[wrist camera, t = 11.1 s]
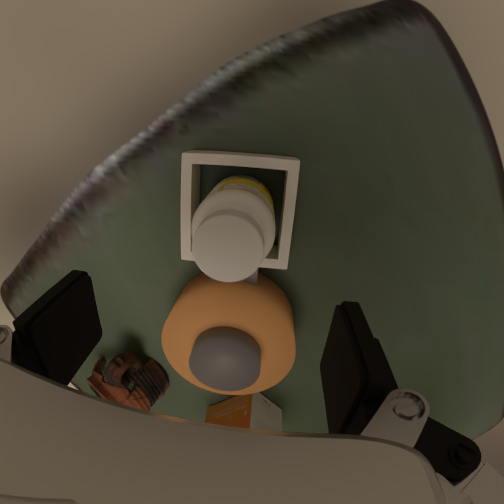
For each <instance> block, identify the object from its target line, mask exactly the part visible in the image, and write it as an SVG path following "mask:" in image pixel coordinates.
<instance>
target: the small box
mask: <svg viewBox="0 0 504 504" xmlns="http://www.w3.org/2000/svg"><path fill="white" fill-rule="evenodd" d="M205 423H210V424H216V425H223V426H231V427H239V428H248V429H259V430H270V431H282V410H281V409H280V408H279V407H277V406H276V405H275V404H274V403H272V402H271V401H270V400H268V399H267V398H266V397H264V396H263V395H262V394H261V393H259V392H257V393H252V394H246V395H236V396H234V397H232V398H230V399H227V400H225V401H222V402H220V403H217V404H215V405H212V406H209V407H208V410H207V415H206V419H205Z"/></svg>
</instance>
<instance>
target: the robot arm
mask: <svg viewBox="0 0 504 504" xmlns="http://www.w3.org/2000/svg"><path fill="white" fill-rule="evenodd" d="M13 325H14V327H15V331H14V332H12V330H11V328H10V327H9V326H7V325H0V504H504V478H503V477H502V476H501V475H500V474H499V473H498V472H496V470H494V469H493V468H492V467H491V466H490V465H489V464H488V463H487V462H486V463H485V464H484V465H483V464H482V463H481V452H480V450H479V447H478V446H477V445H476V443H475V442H474V441H472V440H471V439H469V438H467V437H465V436H463V435H461V434H459V433H458V432H456V431H454V430H452V429H450V428H448V427H446V426H444V425H443V424H441V423H439V422H437V421H435V420H433V419H432V418H430V417H428V416H429V412H430V407H429V403H428V402H427V400H426V398H425V397H424V396H423V395H422V394H420V393H419V392H417V391H415V390H412V389H408V388H400V389H398V386H397V384H396V381H395V378H394V376H393V373H392V371H391V368H390V366H389V364H388V361H387V359H386V356H385V354H384V352H383V349H382V347H381V344H380V342H379V340H378V339H376V338H374V337H373V335H372V332H371V330H370V328H369V325H368V323H367V321H366V318H365V316H364V314H363V311H362V309H361V307H360V305H359V303H358V302H348V301H343V302H342V303H341V305H336V307H335V311H334V315H333V319H332V323H331V327H330V330H329V334H328V338H327V341H326V345H325V349H324V352H323V355H322V359H321V363H320V372H321V378H322V385H323V392H324V399H325V406H326V414H327V421H328V429H329V434H328V433H302V432H283V431H270V430H259V429H248V428H239V427H231V426H223V425H216V424H210V423H203V422H198V421H192V420H187V419H181V418H176V417H172V416H167V415H162V414H158V413H154V412H149V411H145V410H141V409H138V408H134V407H130V406H126V405H123V404H119V403H116V402H113V401H109V400H106V399H103V398H100V397H97V396H94V395H91V394H88V393H85V392H82V391H79V390H76V389H73V388H71V387H68V386H67V385H68V384H69V383H70V381H71V380H72V378H73V377H74V375H75V374H76V373H77V371H78V370H79V368H80V367H81V365H82V364H83V363H84V361H85V360H86V358H87V357H88V356H89V354H90V353H91V352H92V350H93V349H94V347H95V346H96V345H97V343H98V342H99V341H100V339H101V337H102V328H101V324H100V320H99V315H98V311H97V306H96V301H95V296H94V291H93V285H92V280H91V277H90V276H88V273H87V272H85V271H79V270H73V271H71V272H70V273H69V274H67V275H66V276H65V277H64V278H63V279H61V280H60V281H59V282H58V283H56V284H55V285H54V286H53V287H52V288H50V289H49V290H48V291H47V292H46V293H45V294H43V295H42V296H41V297H40V298H39V299H38V300H36V301H35V302H34V303H33V304H32V305H31V306H30V307H28V308H27V309H26V310H25V311H24V312H23V313H22V314H21V315H20V316H19V317H17V318H16V319H15V320H14V321H13Z"/></svg>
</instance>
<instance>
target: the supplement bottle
mask: <svg viewBox="0 0 504 504" xmlns="http://www.w3.org/2000/svg"><path fill="white" fill-rule="evenodd" d="M275 232H276V227H275V216H274V205H273V200H272V196H271V194H270V192H269V190H268V189H267V187H266V186H265V185H264V184H263V183H262V182H261V181H259V180H258V179H256V178H254V177H252V176H248V175H233V176H230V177H227V178H225V179H223V180H222V181H221V182H219V183H218V184H217V185H216V186H215V187H214V188H213V190H212V191H211V192H210V193H209V194H208V196H207V197H206V198H205V199H204V200H203V201H202V203H201V204H200V205H199V207H198V208H197V210H196V212H195V214H194V216H193V219H192V224H191V235H192V254H193V258H194V260H195V262H196V264H197V266H198V267H199V268H200V269H201V271H203V272H204V273H205V274H206V275H208V276H209V277H211V278H213V279H215V280H218V281H222V282H236V281H240V280H243V279H245V278H247V277H249V276H251V275H252V274H253V273H254V272H255V271H256V270H257V269H258V267H259V266H260V264H261V262H262V260H264V258H265V257H266V256H267V255H268V254H269V252H270V250H271V249H272V246H273V243H274V240H275Z"/></svg>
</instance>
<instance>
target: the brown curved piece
mask: <svg viewBox="0 0 504 504" xmlns="http://www.w3.org/2000/svg"><path fill="white" fill-rule="evenodd" d="M104 365H105V360H104V359H103V358H101V359H100V360H98V361H97V363H96V364H95V367H94V369H93V370H92V376H90V377H89V378H87V379H86V380H87V381H88V384H89V385H90V388H91V389H92V390H93V392H94V393H95V394H96V395H97V397H100V398H103V399H106V400H109V401H113V402H116V403H119V404H123V405H126V406H130V407H134V408H138V409H141V410H145V411H149V410H150V406H153V404H155V401H156V400H157V399H158V398H159V399H160V398H162V397H163V395H164V393H165V391H166V389H167V388H168V386H169V383H168V380H167V378H166V375H165V373H164V372H163V370H162V369H161V367H160V366H159V365H158V364H157V363H156V362H155V361H154V360H153V359H152V358H150V359H149V360H148V362H147V363H145V364H144V365H143V366H142V360H141V358H140V357H139V355H137V354H134V353H129V352H128V353H121V354H119V355H117V356H116V357H114V358H113V359H112V360H111V361H110V362H109V364H108V366H107V369H106V373H105V379H106V381H107V382H105V380H104V376H103V375H102V372H101V370H102V368H103V367H104ZM129 383H133V384H135V385H134V387H133V389H132V391H130V390H129V389H128V388H127V387H128V385H129Z"/></svg>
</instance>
